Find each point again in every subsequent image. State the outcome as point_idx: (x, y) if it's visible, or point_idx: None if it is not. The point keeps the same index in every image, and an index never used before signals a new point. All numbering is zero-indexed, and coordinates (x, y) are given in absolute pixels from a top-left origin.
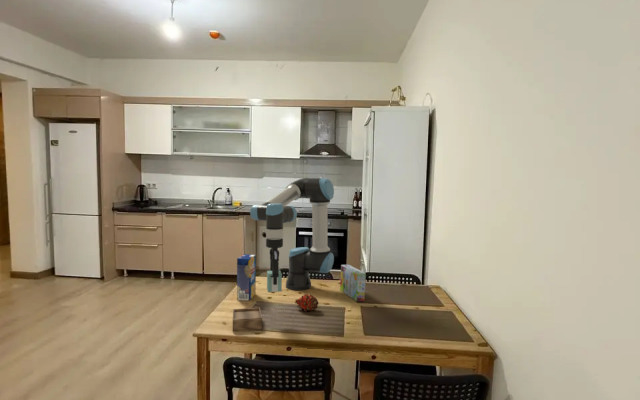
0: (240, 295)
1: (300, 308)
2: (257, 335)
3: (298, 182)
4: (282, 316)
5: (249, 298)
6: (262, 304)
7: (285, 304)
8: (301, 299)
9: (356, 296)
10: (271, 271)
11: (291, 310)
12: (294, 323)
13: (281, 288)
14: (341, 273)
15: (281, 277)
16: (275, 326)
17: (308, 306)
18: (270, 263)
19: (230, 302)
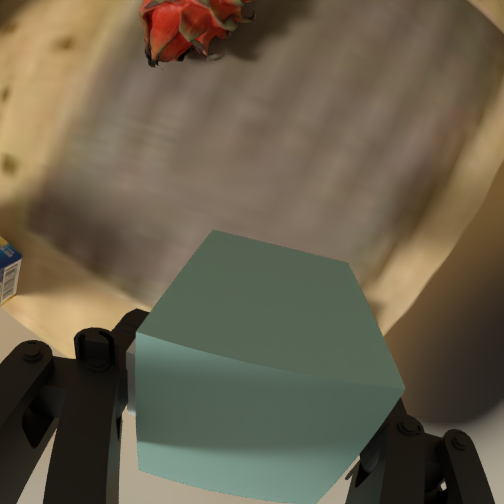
0: (5, 292)
1: (193, 49)
2: (383, 334)
3: None
4: (236, 167)
5: (16, 258)
6: (63, 216)
7: (90, 107)
8: (190, 30)
9: None
10: (187, 457)
11: (175, 96)
12: (350, 144)
13: (353, 275)
14: None
15: (387, 350)
16: (342, 243)
17: (240, 12)
18: (21, 471)
19: (35, 323)
